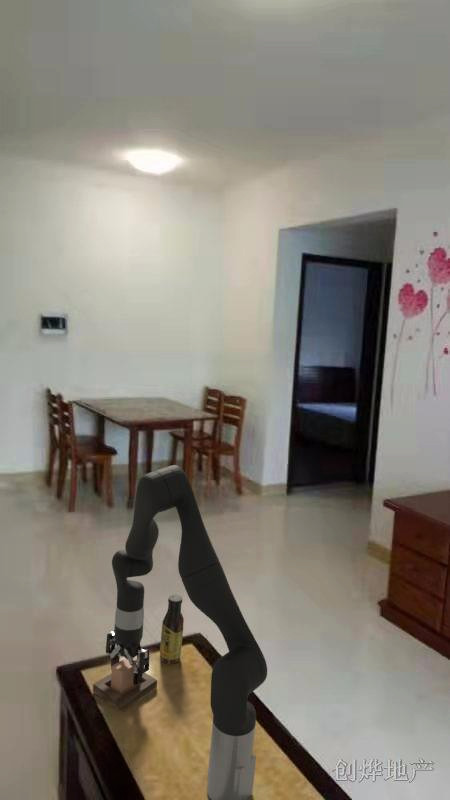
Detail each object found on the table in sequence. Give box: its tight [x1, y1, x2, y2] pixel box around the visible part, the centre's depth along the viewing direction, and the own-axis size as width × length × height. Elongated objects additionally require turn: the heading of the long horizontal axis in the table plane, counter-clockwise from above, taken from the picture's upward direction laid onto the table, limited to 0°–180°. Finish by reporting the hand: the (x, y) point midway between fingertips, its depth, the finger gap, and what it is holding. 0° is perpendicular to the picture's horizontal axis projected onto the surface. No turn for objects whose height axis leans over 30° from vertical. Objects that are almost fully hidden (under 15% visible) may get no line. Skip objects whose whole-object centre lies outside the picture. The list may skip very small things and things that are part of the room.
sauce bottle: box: [159, 593, 185, 665], centre depth 178 cm, size 7×6×20 cm
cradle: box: [92, 672, 158, 713], centre depth 164 cm, size 11×13×2 cm
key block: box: [110, 656, 140, 695], centre depth 163 cm, size 7×4×7 cm, turn 142°
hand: (125, 676), depth 163 cm, fingers open, 8 cm apart
